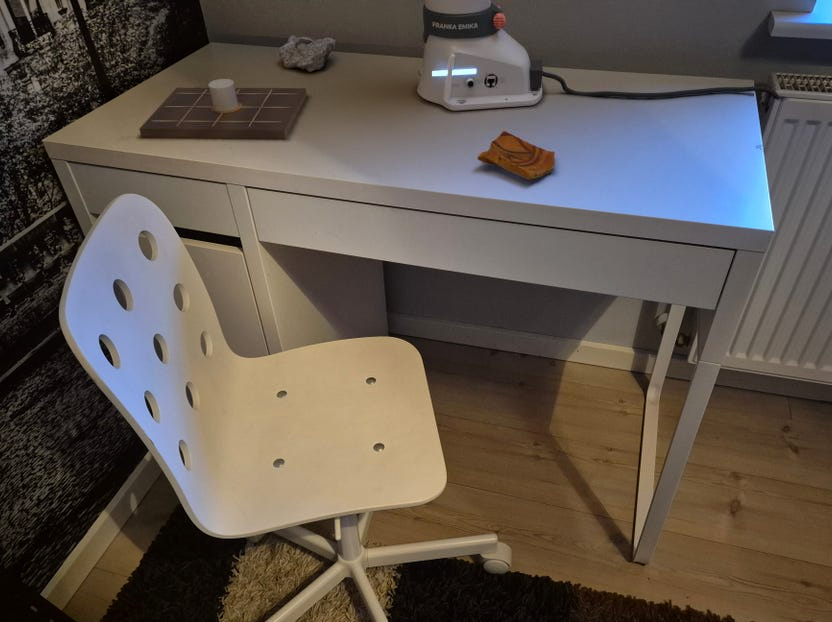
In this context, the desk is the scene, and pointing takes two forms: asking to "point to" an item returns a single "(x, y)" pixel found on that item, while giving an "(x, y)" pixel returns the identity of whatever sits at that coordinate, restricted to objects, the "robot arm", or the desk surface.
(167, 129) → the board
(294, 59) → the mineral specimen
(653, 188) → the desk surface
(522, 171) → the pottery fragment
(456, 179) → the desk surface
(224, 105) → the white plastic cylinder
